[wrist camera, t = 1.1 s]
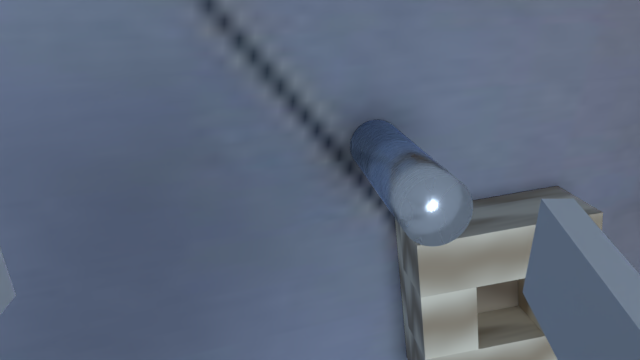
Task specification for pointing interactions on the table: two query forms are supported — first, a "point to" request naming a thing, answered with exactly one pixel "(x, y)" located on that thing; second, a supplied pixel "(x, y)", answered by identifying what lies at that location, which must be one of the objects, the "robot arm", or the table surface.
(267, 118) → the table surface
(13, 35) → the table surface
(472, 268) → the bore block
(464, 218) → the peg
